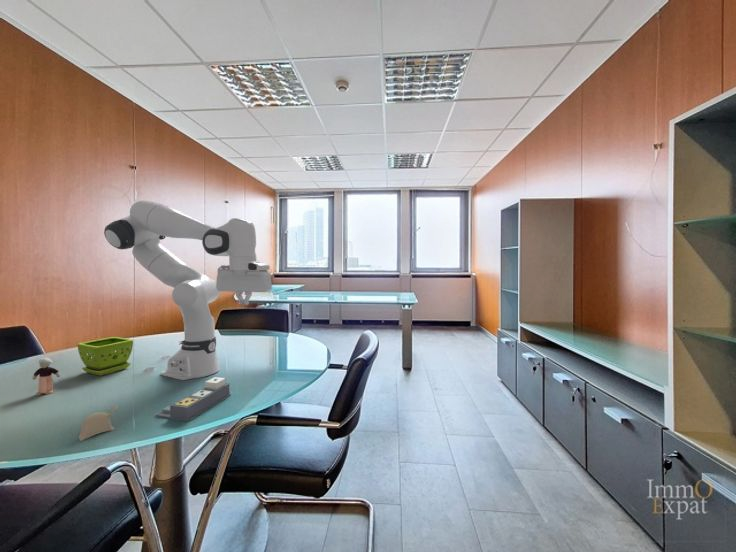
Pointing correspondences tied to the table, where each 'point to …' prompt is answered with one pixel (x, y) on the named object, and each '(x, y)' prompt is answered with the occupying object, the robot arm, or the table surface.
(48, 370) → the grandmother figurine
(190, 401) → the tile three
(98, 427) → the decorative ornament
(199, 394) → the tile two
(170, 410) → the console
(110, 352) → the flower pot
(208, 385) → the tile one
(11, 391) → the table surface
